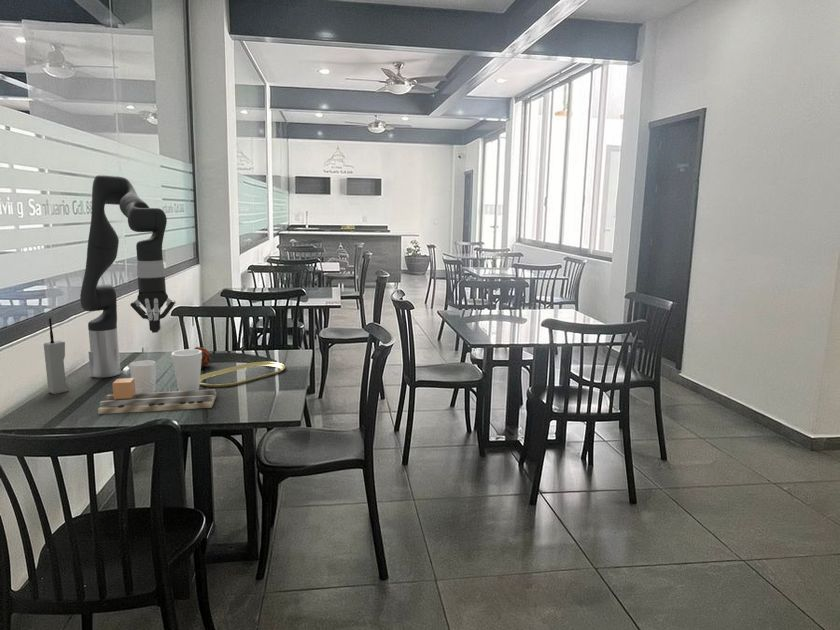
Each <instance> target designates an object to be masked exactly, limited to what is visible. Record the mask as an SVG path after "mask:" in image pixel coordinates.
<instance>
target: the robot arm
mask: <svg viewBox="0 0 840 630" xmlns="http://www.w3.org/2000/svg"><path fill="white" fill-rule="evenodd" d="M91 189H92V191H91V215H90V216H91V217H90V224H89V225H90V227H89V233H88V240H87V248H86V261H85V268H84V269H85V271H84V276H83V279H82V283H81V290H80V294H79V295H80V298H79V300H80V305H81V308H82V309H83V310H84V311H85V312H98V311H99V312H100V311H102V313H100V315H99V316H97V317H95V318H94V319H91V320H90V321H88V323H87V325H88V326H87V329H88V339H89V349H90V350H89V351H88V353H87V354H88V362H89V363H88V365H89V373H90V378H98V379H99V378H100V379H101V378H109V377H110V378H111V377H115V376H118V375H120V374H121V359H120V348H119V346H120V345H119V337H118V324H117V323H118V309H117V308H118V306H117V304H118V303H117V294H116V293H117V291H116V289H115V287H114V286H113V285H111V284H105V283H104V284H99V281H100V279H101V277H102V276H103V275H104V274H105V273H106V271H108V270H109V268H110V267H112V265H113V263H114V262H115V260H116V259H117V257H118V250H119V243H120V240H119V237H118V234H117V232H116V231H115V229H114V227H113V226H112V224H111V222H110V221H109V219H108V218H107V215H106V211H105V205H114V206H115V205H119V209H120V212H121V213H122V214H123V215H124V216H125V217H126V218H127V224H128V227H129V229H130V230H132V231H133V232H136V233H151V235H150V237H149V238H147V239H142V240H140V241H138V242H137V243H136V245H135V246H136V247H135V248H136V249H135V251H136V260H137V264H136V276H137V287H138V295H137V298H136V300H134V301H132V302H131V303H130V304H129V305H130V307H131V308H132V309H133V310H134V311H135V312H136V313H137V315H139V316H140V317H141V318H142V319H143V320H147V321H148V323H149V324H148V326H149V331H150V332H151V333H154V334H155V333H159V331H160V330H161V329H162V328H161V319H164V318H165V317H167V315H168V314H169V313H170V312H171V310H172V309H173V308H174V306H175V305H176V304H177V303H176V300H172V299H170V297H169V295H168V294H167V293H168V292H167V287H166V273H165V264H164V258H163V243H164V241H163V240H164V237H165V231H166V229H167V223H168V222H167V220H168V219H167V215H166V213H165V211H164V210H163V209H161V208H160V207H159V208H157V207H150V206H149V205H148V204H147V203H146V201H144V200H143V199H141V198H140V197H139V195H138V194H137V192H136V189H135V188H134V186H133V184H132V183H131V181H130V180H129V179H128V178H126V177H123V176H119V175H118V176H115V175H107V174H106V175H105V174H103V175H102V174H98V175H97V174H96V176H95V177H94V179H93V181H92V187H91ZM141 305H142V307H144V308H145V310H146V311H145V310H144V309H143V308H142V307H141ZM164 305H166V307H165V309H164V310H163V312H161V310H162V309H161V308H163V306H164Z"/></svg>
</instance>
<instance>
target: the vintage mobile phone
mask: <svg viewBox="0 0 840 630" xmlns="http://www.w3.org/2000/svg"><path fill="white" fill-rule="evenodd" d="M48 323H49V337H50V338H49V339H50V341H49V342H44V343H43V350H44V352H43V353H44V361H45V370H46V371H45V372H46V378H47V379H46V380H47V381H46V382H47V389H48V392H49V393H50V394H53V395H56V394H61V393H65V392H69V391H70V386H69V385H68V384H67V382H66V381H67V380H66V372H65V362H64V361H65V358H66V342H65V341H62V340H56V341H55V339H54V333H53V325H52V324H53V323H52V318H50V317H49V318H48Z"/></svg>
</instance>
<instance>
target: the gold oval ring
mask: <svg viewBox="0 0 840 630" xmlns="http://www.w3.org/2000/svg"><path fill="white" fill-rule="evenodd" d="M258 366H263V367H264V366H265V367H266V366H267V367H268V366H269V367H276V368H279V370H277V371H274V372H270V373H266V374H263V375H262V374H261V375H259V376H255V377H252V378H247V379H244V380H240V381H236V382H230V383H221V384H219V383H218V384H215V383H212V384H211V383H203V382H202V381H203V380H205V379H208V378H212V377H214V376H219V375H223V374H227V373H231V372H236V371H239V370H242V369H246V368H251V367H258ZM285 368H286V367H285V364H283V363H280V362H276V361H254V362H248V363H242V364H239V365H234V366H231V367H227V368H223V369H218V370H215V371H211V372H206V373H203V374H200V384H199V386H203V387H208V388H209V387H210V388H225V387H232V386H237V385H241V384H245V383H249V382H252V381H255V380H260V379H263V378H267V377H270V376H273V375H278V374H280V373H281V372H283V371H284V370H285Z"/></svg>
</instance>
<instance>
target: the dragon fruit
mask: <svg viewBox="0 0 840 630" xmlns="http://www.w3.org/2000/svg"><path fill="white" fill-rule="evenodd" d="M194 349H197V350H201V351H202V359H201V369H203V368H204V367H205V366H208V364H209V362H210V361H212V360H211V355H210V352H209V351H208V350H207V349H206V348H204V347H201V346H200V347H199V346H195V347H194Z"/></svg>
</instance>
